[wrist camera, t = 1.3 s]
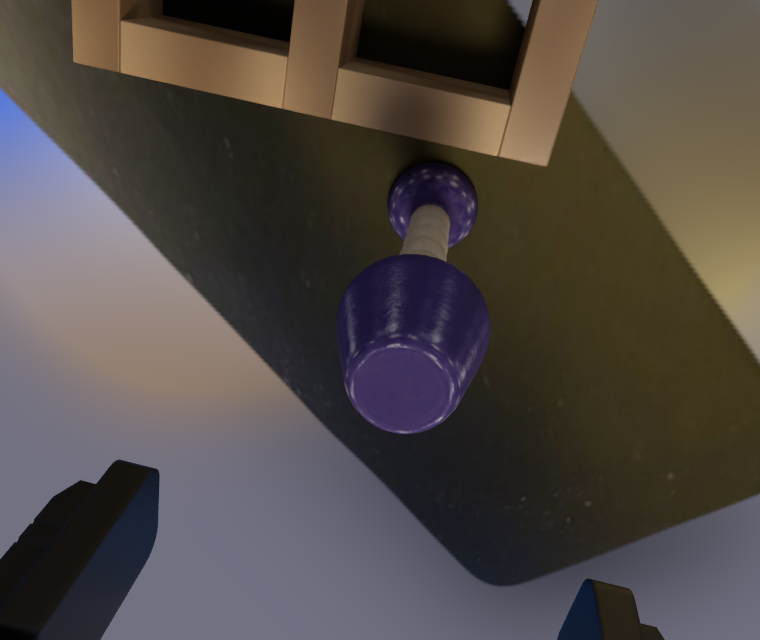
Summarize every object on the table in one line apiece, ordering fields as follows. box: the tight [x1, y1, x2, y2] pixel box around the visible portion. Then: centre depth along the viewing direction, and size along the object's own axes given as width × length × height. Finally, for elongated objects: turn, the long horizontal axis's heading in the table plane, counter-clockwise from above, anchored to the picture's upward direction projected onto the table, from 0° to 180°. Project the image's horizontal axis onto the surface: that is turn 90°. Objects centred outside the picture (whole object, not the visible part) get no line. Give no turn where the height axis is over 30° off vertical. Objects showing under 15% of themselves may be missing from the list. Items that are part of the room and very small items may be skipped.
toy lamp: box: [337, 162, 490, 434], centre depth 24 cm, size 5×5×17 cm
